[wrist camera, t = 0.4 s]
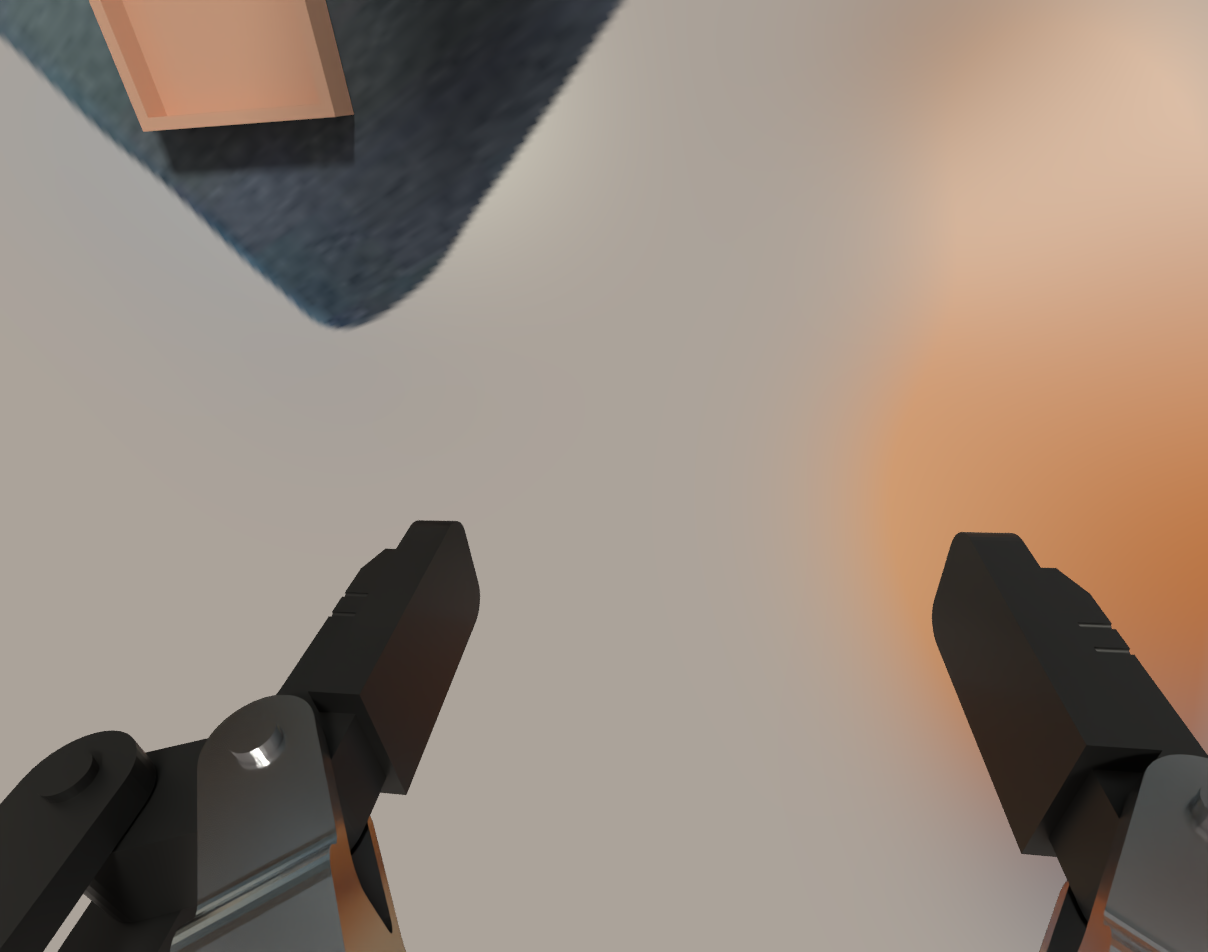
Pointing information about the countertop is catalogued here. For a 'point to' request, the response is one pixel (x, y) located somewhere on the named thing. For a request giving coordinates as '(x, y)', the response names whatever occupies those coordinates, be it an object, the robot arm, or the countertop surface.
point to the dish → (225, 60)
